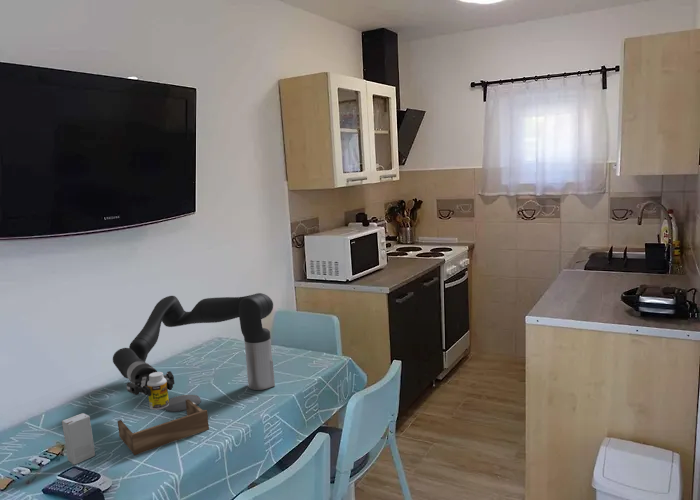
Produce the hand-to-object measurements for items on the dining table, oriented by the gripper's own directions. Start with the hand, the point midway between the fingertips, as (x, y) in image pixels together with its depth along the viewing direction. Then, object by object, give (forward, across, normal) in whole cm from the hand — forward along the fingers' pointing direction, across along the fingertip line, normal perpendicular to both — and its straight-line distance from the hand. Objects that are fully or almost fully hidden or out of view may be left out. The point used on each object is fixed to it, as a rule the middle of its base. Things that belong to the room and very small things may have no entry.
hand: (160, 389), depth 163 cm
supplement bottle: (-3, 0, -6) cm, 7 cm away
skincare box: (-3, +22, -15) cm, 27 cm away
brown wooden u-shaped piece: (-3, 0, -14) cm, 15 cm away
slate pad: (-19, -12, -14) cm, 27 cm away
